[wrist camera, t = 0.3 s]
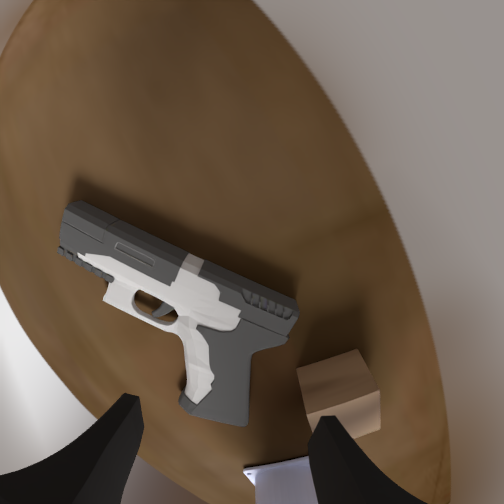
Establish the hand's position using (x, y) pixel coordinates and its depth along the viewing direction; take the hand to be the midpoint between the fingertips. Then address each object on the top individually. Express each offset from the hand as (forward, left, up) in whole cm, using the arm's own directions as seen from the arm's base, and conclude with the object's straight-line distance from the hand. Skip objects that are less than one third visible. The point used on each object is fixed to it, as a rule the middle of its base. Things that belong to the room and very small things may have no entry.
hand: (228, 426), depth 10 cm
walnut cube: (-9, -5, -10) cm, 14 cm away
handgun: (0, +5, -10) cm, 12 cm away
